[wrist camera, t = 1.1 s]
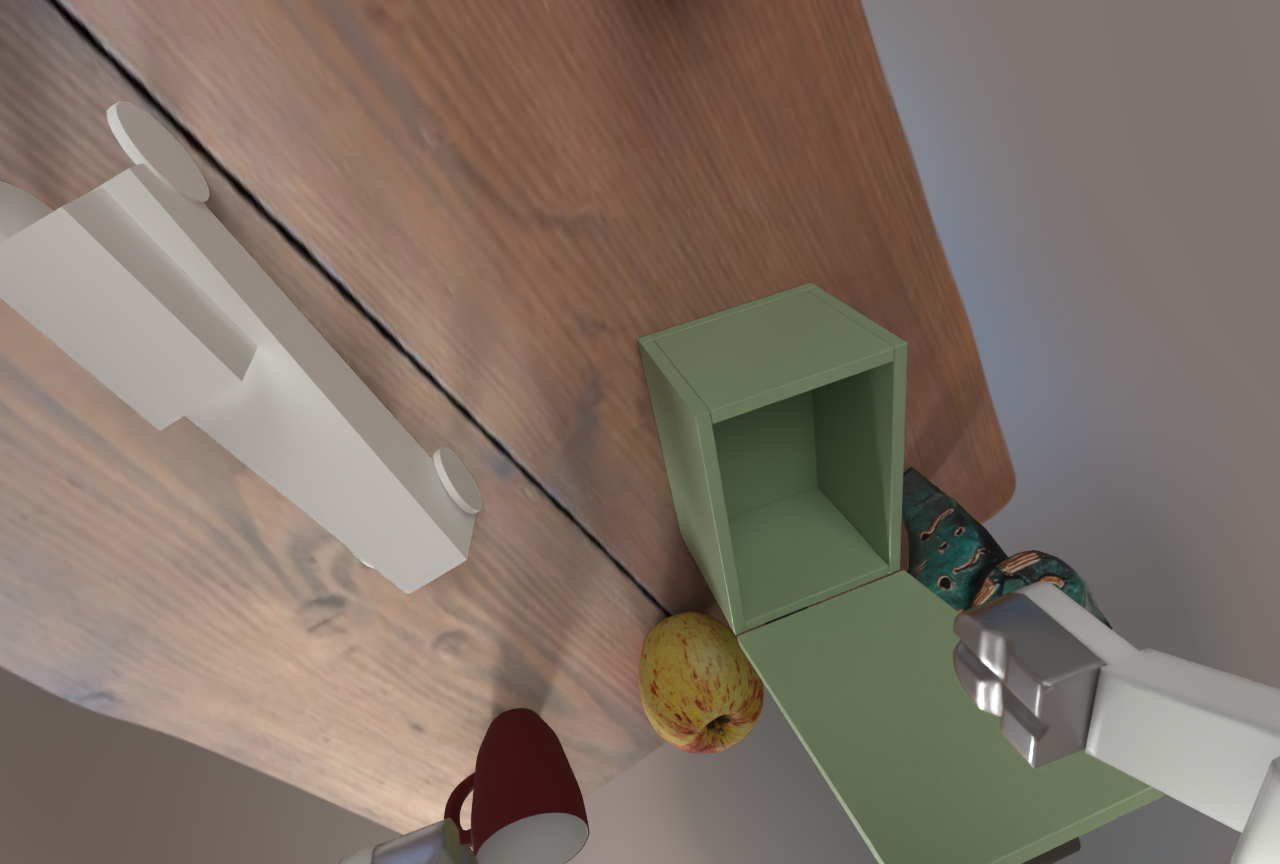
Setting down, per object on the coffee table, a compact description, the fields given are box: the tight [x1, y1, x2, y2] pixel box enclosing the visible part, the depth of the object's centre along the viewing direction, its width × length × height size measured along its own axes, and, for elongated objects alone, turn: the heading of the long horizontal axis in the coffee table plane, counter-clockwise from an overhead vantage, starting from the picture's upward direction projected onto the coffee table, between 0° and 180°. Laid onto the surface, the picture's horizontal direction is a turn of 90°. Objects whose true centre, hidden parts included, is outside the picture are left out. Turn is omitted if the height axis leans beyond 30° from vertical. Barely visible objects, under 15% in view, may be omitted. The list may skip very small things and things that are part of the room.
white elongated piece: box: [0, 101, 482, 595], centre depth 31 cm, size 25×7×9 cm, turn 26°
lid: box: [737, 570, 1167, 864], centre depth 34 cm, size 17×12×5 cm
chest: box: [637, 283, 908, 635], centre depth 41 cm, size 17×12×10 cm
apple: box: [639, 611, 763, 753], centre depth 50 cm, size 9×9×10 cm
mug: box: [444, 708, 589, 864], centre depth 50 cm, size 10×8×10 cm
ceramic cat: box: [765, 467, 1112, 630], centre depth 47 cm, size 20×6×20 cm, turn 135°
